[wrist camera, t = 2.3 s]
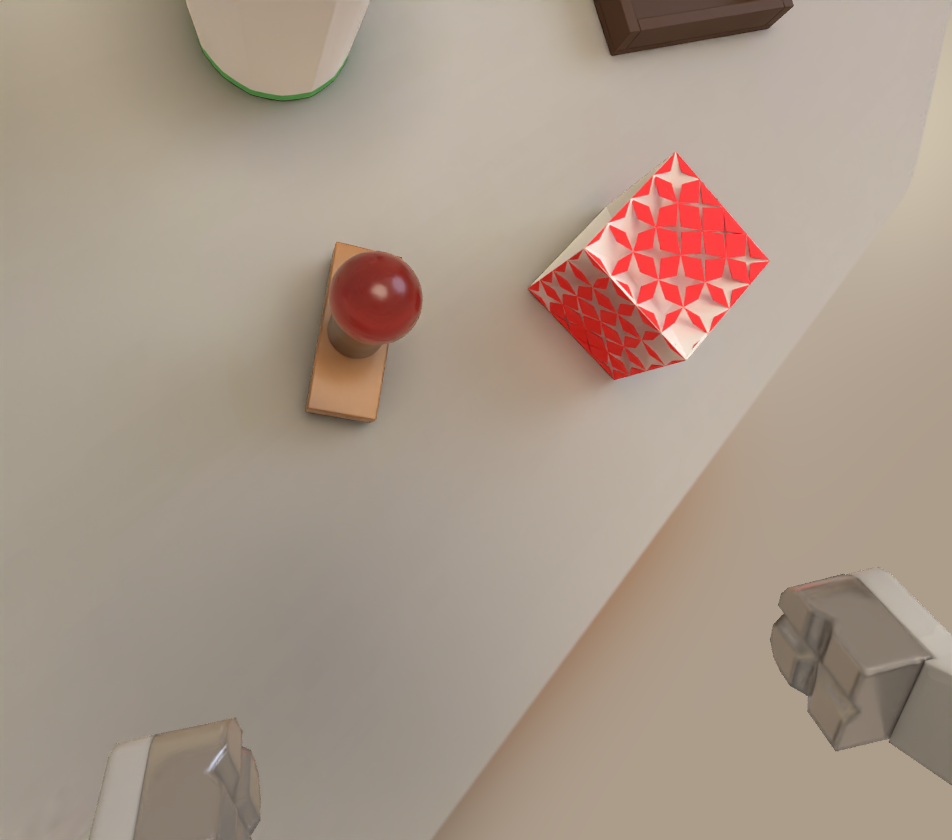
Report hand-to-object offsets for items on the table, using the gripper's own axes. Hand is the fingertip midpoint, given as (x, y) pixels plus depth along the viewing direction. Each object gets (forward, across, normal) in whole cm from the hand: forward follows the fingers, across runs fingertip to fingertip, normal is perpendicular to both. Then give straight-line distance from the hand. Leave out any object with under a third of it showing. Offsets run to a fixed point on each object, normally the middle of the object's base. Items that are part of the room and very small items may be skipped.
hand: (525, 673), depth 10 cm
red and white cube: (+32, -14, +10) cm, 37 cm away
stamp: (+30, +2, +9) cm, 31 cm away
